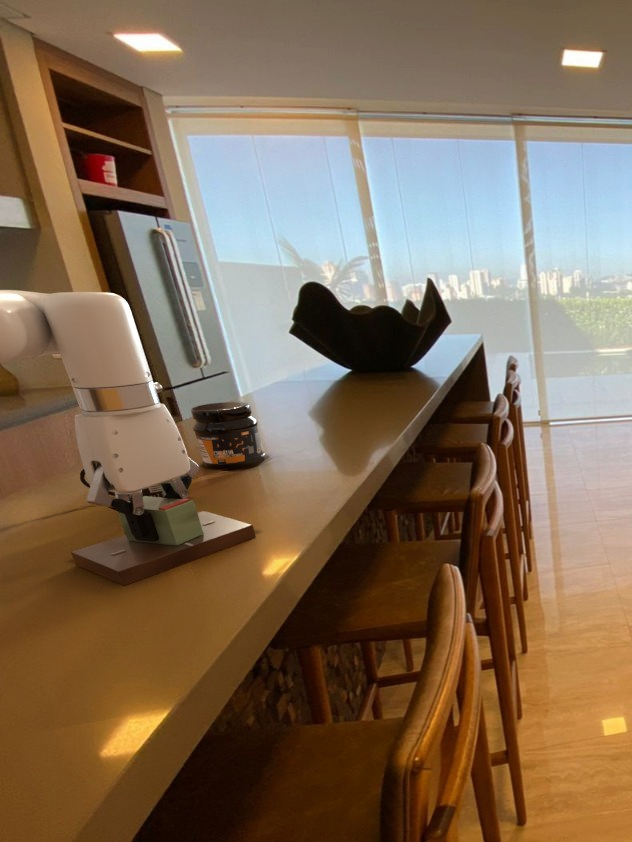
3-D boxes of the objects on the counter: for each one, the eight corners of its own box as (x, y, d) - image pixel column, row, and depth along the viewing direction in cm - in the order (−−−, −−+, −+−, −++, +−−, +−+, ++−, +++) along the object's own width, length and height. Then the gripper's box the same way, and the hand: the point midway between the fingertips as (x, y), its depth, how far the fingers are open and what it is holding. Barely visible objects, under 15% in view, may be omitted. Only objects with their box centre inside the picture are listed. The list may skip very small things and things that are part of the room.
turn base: (124, 586, 69) (118, 570, 68) (75, 565, 74) (69, 550, 73) (256, 537, 82) (252, 523, 81) (207, 522, 87) (203, 509, 86)
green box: (127, 540, 76) (114, 504, 74) (156, 529, 80) (144, 494, 78) (177, 545, 75) (164, 509, 73) (204, 533, 78) (193, 498, 76)
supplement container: (193, 474, 109) (174, 412, 104) (221, 458, 119) (205, 401, 114) (253, 471, 111) (237, 410, 106) (275, 456, 120) (262, 400, 116)
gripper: (159, 386, 78) (197, 508, 85) (14, 410, 63) (75, 557, 70) (204, 388, 77) (239, 512, 84) (68, 413, 62) (124, 563, 69)
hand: (164, 531), depth 77 cm, fingers closed on green box, 4 cm apart
